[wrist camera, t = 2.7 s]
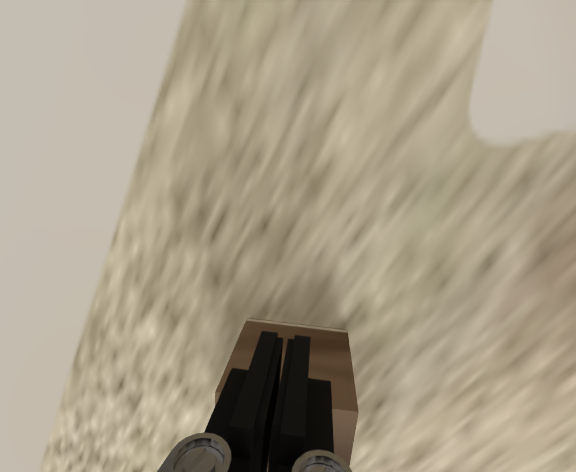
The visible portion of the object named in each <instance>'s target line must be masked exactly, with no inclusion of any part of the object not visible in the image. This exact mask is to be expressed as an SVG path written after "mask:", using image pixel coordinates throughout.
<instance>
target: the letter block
mask: <svg viewBox="0 0 576 472" xmlns="http://www.w3.org/2000/svg"><path fill="white" fill-rule="evenodd" d="M261 331H268V332H277V333H278V337H281V338H283V350H282V362H281V374H280V380H281V375H282V369H283V364H284V358H285V353H286V347H287V342H288V338H289V339H294V337H295V335H301V336H309V337H311V340H310V357H309V373H308V378H313V379H320V380H328V381H331V391H332V415H333V439H334V454H336V455H338V456H339V457H340V458H341V459H343V460H344V461H345V462H346V463H347V465H348V466H349V465H350V459H351V453H352V447H353V441H354V435H355V429H356V423H357V418H358V405H357V398H356V391H355V383H354V376H353V368H352V361H351V353H350V346H349V338H348V331H347V330H340V329H332V328H324V327H316V326H307V325H299V324H291V323H282V322H274V321H266V320H257V319H249V318H247V320H246V322H245V324H244V327H243V329H242V331H241V334H240V336H239V338H238V341H237V343H236V345H235V348H234V350H233V352H232V355H231V357H230V359H229V362H228V364H227V366H226V369H225V371H224V373H223V376H222V378H221V380H220V383H219V385H218V387H217V389H216V392H215V406H216V403H217V401H218V399H219V396H220V394H221V392H222V389H223V387H224V385H225V382H226V380H227V377H228V375H229V373H230V371H231V369H232V368H238V369H245V370H248V369H249V366H250V363H251V360H252V357H253V355H254V352H255V349H256V346H257V343H258V340H259V337H260V334H261ZM268 465H269V462H268ZM267 472H268V468H267Z"/></svg>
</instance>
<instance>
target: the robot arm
mask: <svg viewBox="0 0 576 472" xmlns="http://www.w3.org/2000/svg"><path fill="white" fill-rule="evenodd" d="M310 340H311V337H309V336H301V335H295V337H294V339H289V338H288V342H287V347H286V353H285V358H284V364H283V369H282V375H281V380H280V374H281V362H282V350H283V338H281V337H278V333H277V332H268V331H261V334H260V337H259V340H258V343H257V346H256V349H255V352H254V355H253V357H252V360H251V363H250V366H249V369H248V370H245V369H238V368H232V369H231V371H230V373H229V375H228V377H227V380H226V382H225V385H224V387H223V389H222V392H221V394H220V396H219V399H218V401H217V403H216V406H215V408H214V411H213V413H212V415H211V418H210V420H209V422H208V425H207V427H206V429H205V432H204V433H197V434H194V435H191V436H189V437H186V438H185V439H183V440H182V441H180V442H179V443H178V444H177V445H176V446H175V447H174V448H173V450H172V451H171V452H170V454H169V455H168V457H167V458H166V459H165V461H164V462H163V464H162V465H161V467H160V468H159V470H158V471H157V472H267V468H268V472H352V470H351V469H350V467H349V466H348V465H347V463H346V462H345V461H344V460H343V459H341V458H340V457H339V456H338V455H336V454H334V439H333V415H332V391H331V381H328V380H320V379H313V378H308V373H309V357H310ZM268 462H269V465H268Z"/></svg>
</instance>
